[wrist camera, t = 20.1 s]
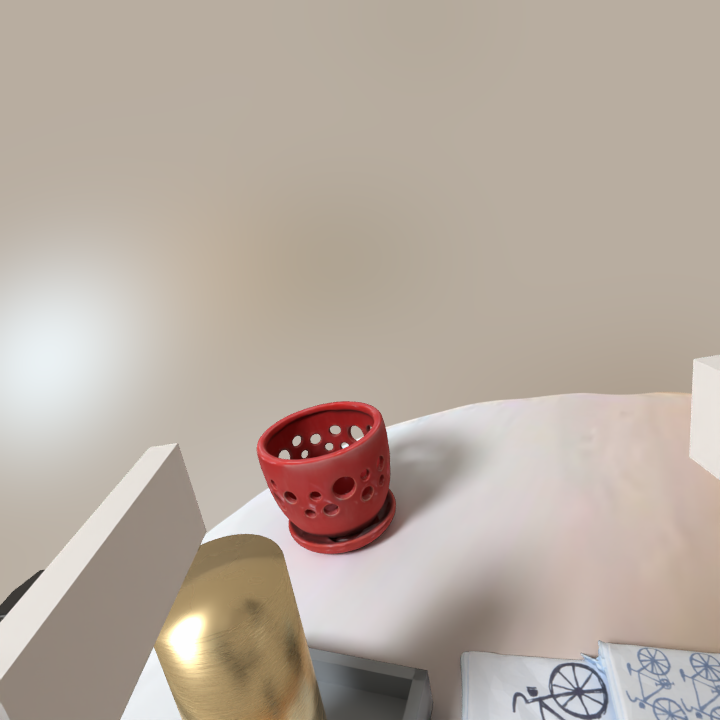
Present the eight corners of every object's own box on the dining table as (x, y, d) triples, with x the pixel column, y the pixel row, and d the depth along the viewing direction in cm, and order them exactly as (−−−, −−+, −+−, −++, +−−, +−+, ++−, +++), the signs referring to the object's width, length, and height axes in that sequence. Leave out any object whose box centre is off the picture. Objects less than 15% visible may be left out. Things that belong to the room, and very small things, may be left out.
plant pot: (350, 477, 61) (332, 390, 57) (426, 518, 51) (411, 415, 47) (259, 531, 53) (232, 435, 50) (327, 591, 43) (300, 476, 40)
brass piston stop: (270, 739, 31) (203, 529, 26) (363, 765, 28) (307, 540, 24) (208, 864, 25) (109, 626, 20) (317, 911, 23) (233, 653, 18)
